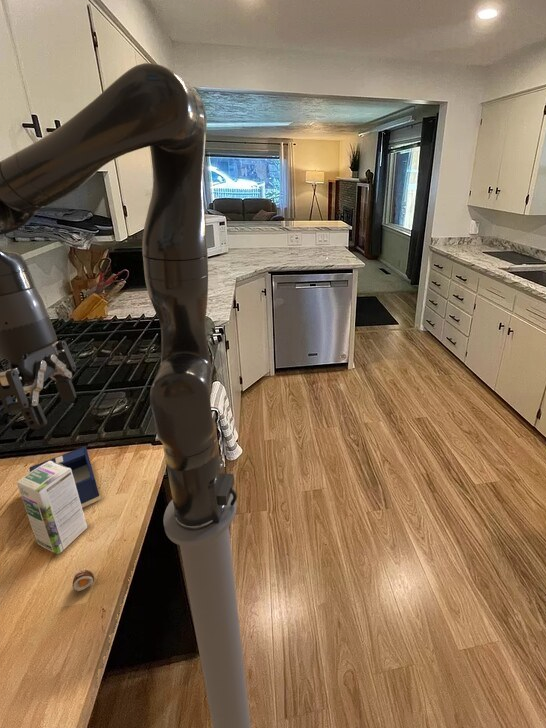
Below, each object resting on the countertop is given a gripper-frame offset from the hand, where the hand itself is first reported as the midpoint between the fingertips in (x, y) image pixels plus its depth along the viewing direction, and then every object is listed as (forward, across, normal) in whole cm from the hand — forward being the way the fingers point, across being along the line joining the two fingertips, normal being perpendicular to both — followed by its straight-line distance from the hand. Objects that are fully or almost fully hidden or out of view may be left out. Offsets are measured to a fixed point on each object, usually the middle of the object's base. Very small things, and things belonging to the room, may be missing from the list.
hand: (55, 412), depth 59 cm
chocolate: (+27, -8, 0) cm, 28 cm away
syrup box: (+25, +1, +8) cm, 26 cm away
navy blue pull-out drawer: (+23, +11, +12) cm, 28 cm away
